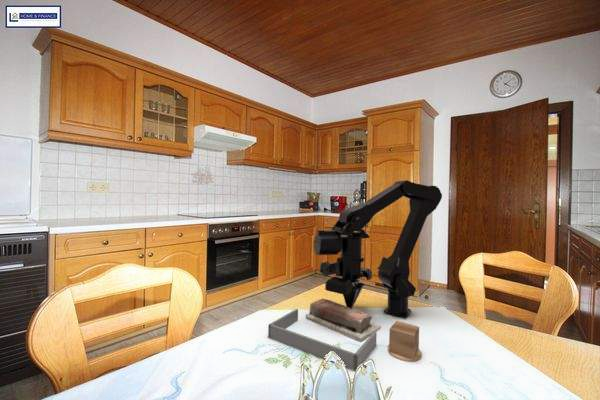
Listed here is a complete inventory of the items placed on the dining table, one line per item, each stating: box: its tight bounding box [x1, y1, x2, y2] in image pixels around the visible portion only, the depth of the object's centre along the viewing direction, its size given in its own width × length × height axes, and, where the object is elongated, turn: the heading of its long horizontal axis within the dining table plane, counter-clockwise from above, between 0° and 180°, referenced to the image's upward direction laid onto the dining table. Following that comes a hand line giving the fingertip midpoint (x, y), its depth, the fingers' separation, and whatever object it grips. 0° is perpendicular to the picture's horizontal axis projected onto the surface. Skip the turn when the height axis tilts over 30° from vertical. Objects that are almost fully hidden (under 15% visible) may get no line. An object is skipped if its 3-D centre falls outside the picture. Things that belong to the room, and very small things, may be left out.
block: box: [388, 320, 420, 360], centre depth 61 cm, size 5×5×5 cm
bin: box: [267, 308, 378, 372], centre depth 65 cm, size 12×22×3 cm, turn 56°
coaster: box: [387, 344, 423, 362], centre depth 61 cm, size 7×7×1 cm
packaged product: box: [305, 298, 382, 343], centre depth 75 cm, size 18×5×10 cm
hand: (349, 309), depth 79 cm, fingers closed
